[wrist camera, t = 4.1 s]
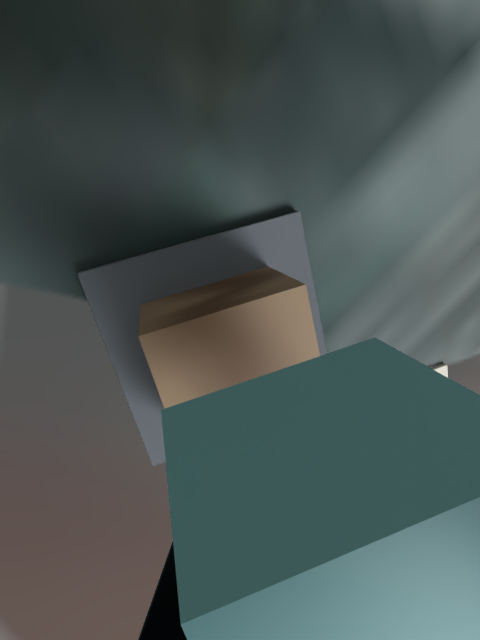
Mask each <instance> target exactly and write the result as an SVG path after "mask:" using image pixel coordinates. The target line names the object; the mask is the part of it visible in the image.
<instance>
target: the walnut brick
mask: <svg viewBox="0 0 480 640" xmlns="http://www.w3.org/2000/svg"><path fill="white" fill-rule="evenodd" d="M138 337H139V339H140V342H141V345H142V348H143V350H144V353H145V356H146V359H147V362H148V364H149V367H150V370H151V373H152V376H153V378H154V381H155V384H156V387H157V389H158V392H159V395H160V398H161V401H162V403H163V406H164V409H165V408H168V407H171V406H174V405H177V404H180V403H183V402H186V401H189V400H192V399H195V398H198V397H201V396H204V395H206V394H209V393H212V392H215V391H218V390H221V389H224V388H227V387H230V386H233V385H236V384H239V383H242V382H245V381H248V380H251V379H254V378H257V377H260V376H263V375H266V374H269V373H272V372H275V371H278V370H281V369H284V368H287V367H289V366H292V365H295V364H298V363H301V362H304V361H307V360H310V359H313V358H316V357H319V356H320V353H319V348H318V343H317V338H316V333H315V328H314V323H313V318H312V313H311V308H310V303H309V298H308V293H307V288H306V284H304V283H302V282H300V281H298V280H296V279H294V278H291V277H289V276H287V275H285V274H283V273H281V272H279V271H277V270H275V269H273V268H271V267H269V266H268V267H265V268H261V269H258V270H254V271H251V272H248V273H244V274H241V275H238V276H234V277H231V278H228V279H224V280H221V281H218V282H214V283H211V284H208V285H204V286H201V287H198V288H194V289H191V290H187V291H184V292H181V293H177V294H174V295H171V296H167V297H164V298H161V299H157V300H154V301H151V302H147V303H144V304H141V305H140V317H139V335H138Z"/></svg>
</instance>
